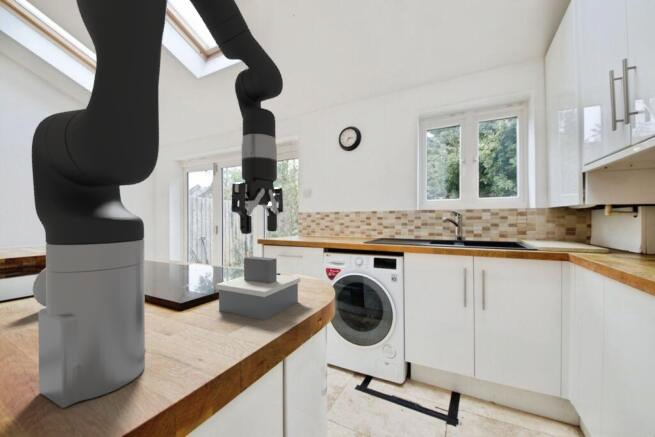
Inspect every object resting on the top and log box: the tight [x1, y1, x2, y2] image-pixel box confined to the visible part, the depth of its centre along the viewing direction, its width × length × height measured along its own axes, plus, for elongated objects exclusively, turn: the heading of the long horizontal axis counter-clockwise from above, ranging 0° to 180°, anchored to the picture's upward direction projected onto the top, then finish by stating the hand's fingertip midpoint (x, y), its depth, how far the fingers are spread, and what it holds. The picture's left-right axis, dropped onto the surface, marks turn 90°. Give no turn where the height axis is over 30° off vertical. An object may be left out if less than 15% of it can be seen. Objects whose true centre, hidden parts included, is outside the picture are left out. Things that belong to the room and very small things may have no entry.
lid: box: [215, 255, 301, 297], centre depth 59 cm, size 13×13×7 cm
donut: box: [32, 267, 46, 307], centre depth 60 cm, size 10×4×10 cm, turn 179°
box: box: [218, 283, 299, 321], centre depth 59 cm, size 12×12×5 cm
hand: (260, 232), depth 59 cm, fingers open, 8 cm apart
